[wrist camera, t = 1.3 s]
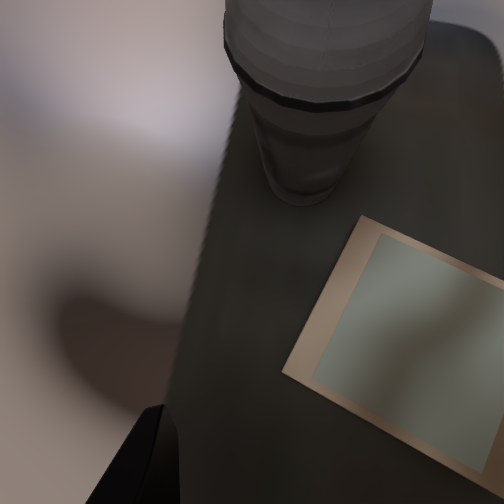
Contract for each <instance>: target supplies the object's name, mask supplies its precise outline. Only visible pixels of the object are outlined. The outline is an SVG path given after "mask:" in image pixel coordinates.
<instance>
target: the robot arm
mask: <svg viewBox="0 0 504 504" xmlns="http://www.w3.org/2000/svg"><path fill="white" fill-rule="evenodd" d="M85 504H180V484H179V451H178V433H177V429H176V426H175V424H174V422H173V420H172V418H171V415H170V413H169V411H168V409H167V407H166V406H165V405H163V404H161V405H156V406H152V407H148V408H146V409H145V410H144V411H143V412H142V414H141V415H140V417H139V418H138V420H137V422H136V423H135V425H134V426H133V428H132V430H131V431H130V433H129V434H128V436H127V438H126V439H125V441H124V442H123V444H122V446H121V447H120V449H119V450H118V452H117V454H116V455H115V457H114V458H113V460H112V462H111V463H110V465H109V466H108V468H107V470H106V471H105V473H104V474H103V476H102V477H101V479H100V481H99V482H98V484H97V486H96V487H95V489H94V490H93V492H92V494H91V495H90V497H89V498H88V500H87V501H86V503H85Z"/></svg>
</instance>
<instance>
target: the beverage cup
mask: <svg viewBox="0 0 504 504" xmlns="http://www.w3.org/2000/svg"><path fill="white" fill-rule="evenodd" d="M432 2H433V0H225V7H226V11H225V13H224V21H223V25H224V26H223V28H224V49H225V51H226V53H227V56H228V58H229V60H230V63H231V65H232V67H233V70H234V72H235V73H236V74H237V77H238V79H239V81H240V84H241V86H242V88H243V91H244V93H245V95H246V98H247V101H248V106H249V110H250V114H251V118H252V122H253V126H254V130H255V134H256V138H257V142H258V146H259V150H260V154H261V159H262V163H263V167H264V171H265V173H266V176H267V178H268V182H269V184H270V187H271V189H272V191H273V192H274V193H275V195H276V196H277V197H278V198H279V199H281V200H282V201H284V202H286V203H287V204H291V205H295V206H299V207H300V206H311V205H314V204H317V203H319V202H321V201H323V200H324V199H325V198H326V197H328V196H329V195H330V193H331V192H332V190H333V189H334V187H335V186H336V185H337V183H338V182H339V180H340V179H341V177H342V175H343V174H344V172H345V170H346V168H347V167H348V165H349V163H350V161H351V159H352V158H353V156H354V154H355V152H356V151H357V149H358V147H359V145H360V144H361V142H362V140H363V138H364V136H365V135H366V133H367V131H368V129H369V128H370V126H371V124H372V122H373V120H374V119H375V117H376V115H377V113H378V112H379V111H380V110H381V109H382V108H383V107H384V105H385V104H386V103H387V102H388V100H389V99H390V98H391V97H392V95H393V94H394V93H395V91H396V90H397V88H398V87H399V86H400V85H401V84H402V83H404V82H405V81H406V80H407V78H408V77H409V75H410V74H411V72H412V71H413V69H414V68H415V66H416V65H417V63H418V62H419V60H420V59H421V57H422V53H423V48H424V43H425V38H426V33H427V27H428V23H429V18H430V13H431V8H432Z"/></svg>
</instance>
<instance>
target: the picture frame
mask: <svg viewBox="0 0 504 504" xmlns="http://www.w3.org/2000/svg"><path fill="white" fill-rule="evenodd" d="M281 372H283V373H284V374H286V375H288V376H290V377H291V378H293V379H295V380H297V381H298V382H300V383H302V384H304V385H305V386H307V387H309V388H311V389H312V390H314V391H316V392H318V393H319V394H321V395H323V396H325V397H326V398H328V399H330V400H331V401H333V402H335V403H337V404H338V405H340V406H342V407H344V408H345V409H347V410H349V411H351V412H352V413H354V414H356V415H358V416H359V417H361V418H363V419H365V420H366V421H368V422H370V423H372V424H373V425H375V426H377V427H379V428H380V429H382V430H384V431H386V432H387V433H389V434H391V435H393V436H394V437H396V438H398V439H400V440H401V441H403V442H405V443H407V444H408V445H410V446H412V447H414V448H415V449H417V450H419V451H421V452H422V453H424V454H426V455H428V456H429V457H431V458H433V459H435V460H436V461H438V462H440V463H442V464H443V465H445V466H447V467H449V468H450V469H452V470H454V471H456V472H457V473H459V474H461V475H463V476H464V477H466V478H468V479H470V480H471V481H473V482H475V483H477V484H478V485H480V486H482V487H483V488H485V489H487V490H489V491H490V492H492V493H494V494H496V495H497V496H499V497H501V498H503V499H504V281H502V280H500V279H498V278H496V277H494V276H492V275H489V274H487V273H485V272H483V271H481V270H479V269H477V268H474V267H472V266H470V265H468V264H466V263H464V262H461V261H459V260H457V259H455V258H453V257H451V256H449V255H446V254H444V253H442V252H440V251H438V250H436V249H434V248H431V247H429V246H427V245H425V244H423V243H421V242H419V241H416V240H414V239H412V238H410V237H408V236H406V235H404V234H401V233H399V232H397V231H395V230H393V229H391V228H388V227H386V226H384V225H382V224H380V223H378V222H376V221H373V220H371V219H369V218H367V217H365V216H363V215H361V216H360V218H359V220H358V221H357V223H356V225H355V227H354V229H353V231H352V233H351V235H350V237H349V239H348V241H347V243H346V245H345V247H344V249H343V251H342V253H341V255H340V257H339V258H338V260H337V262H336V264H335V266H334V268H333V270H332V272H331V274H330V276H329V278H328V280H327V282H326V284H325V286H324V288H323V290H322V292H321V294H320V296H319V298H318V300H317V302H316V304H315V306H314V308H313V310H312V312H311V314H310V316H309V318H308V319H307V321H306V323H305V325H304V327H303V329H302V331H301V333H300V335H299V337H298V339H297V341H296V343H295V345H294V347H293V349H292V351H291V353H290V355H289V357H288V359H287V361H286V363H285V365H284V367H283V369H282V371H281Z"/></svg>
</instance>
